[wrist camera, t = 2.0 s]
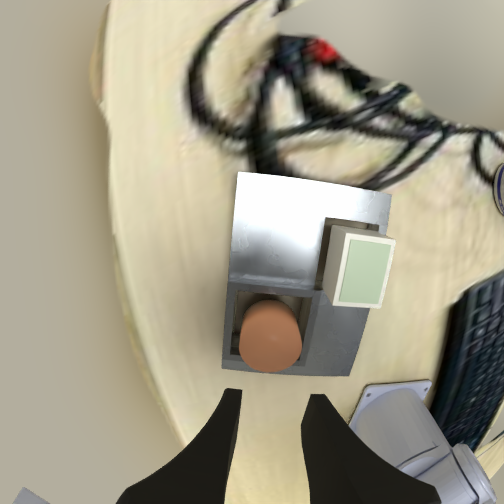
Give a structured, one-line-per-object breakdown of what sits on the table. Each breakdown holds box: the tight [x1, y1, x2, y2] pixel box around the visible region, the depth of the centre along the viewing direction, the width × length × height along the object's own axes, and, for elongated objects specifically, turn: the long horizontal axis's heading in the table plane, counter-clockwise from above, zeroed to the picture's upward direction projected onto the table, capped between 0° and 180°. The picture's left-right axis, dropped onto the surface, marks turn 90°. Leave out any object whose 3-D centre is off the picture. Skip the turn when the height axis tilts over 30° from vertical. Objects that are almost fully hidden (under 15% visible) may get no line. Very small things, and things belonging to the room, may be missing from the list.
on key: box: [322, 225, 396, 308], centre depth 16 cm, size 4×3×3 cm
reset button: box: [239, 299, 302, 372], centre depth 17 cm, size 4×4×3 cm
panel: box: [222, 172, 392, 376], centre depth 19 cm, size 14×10×3 cm
